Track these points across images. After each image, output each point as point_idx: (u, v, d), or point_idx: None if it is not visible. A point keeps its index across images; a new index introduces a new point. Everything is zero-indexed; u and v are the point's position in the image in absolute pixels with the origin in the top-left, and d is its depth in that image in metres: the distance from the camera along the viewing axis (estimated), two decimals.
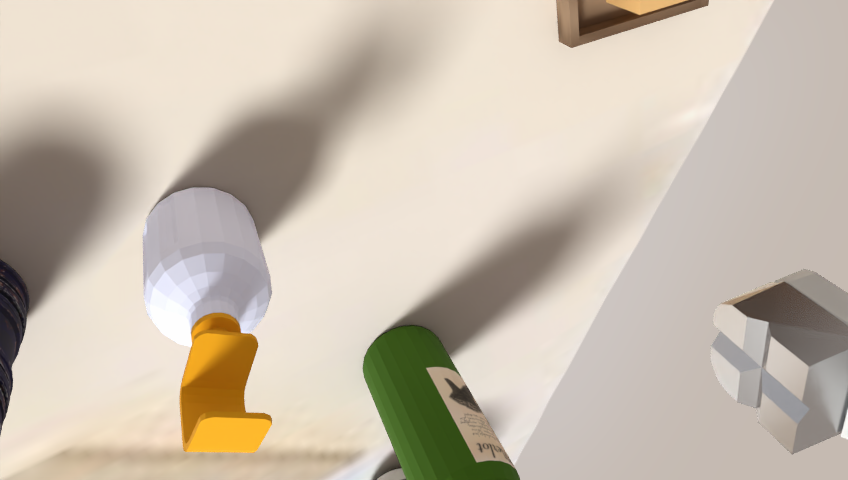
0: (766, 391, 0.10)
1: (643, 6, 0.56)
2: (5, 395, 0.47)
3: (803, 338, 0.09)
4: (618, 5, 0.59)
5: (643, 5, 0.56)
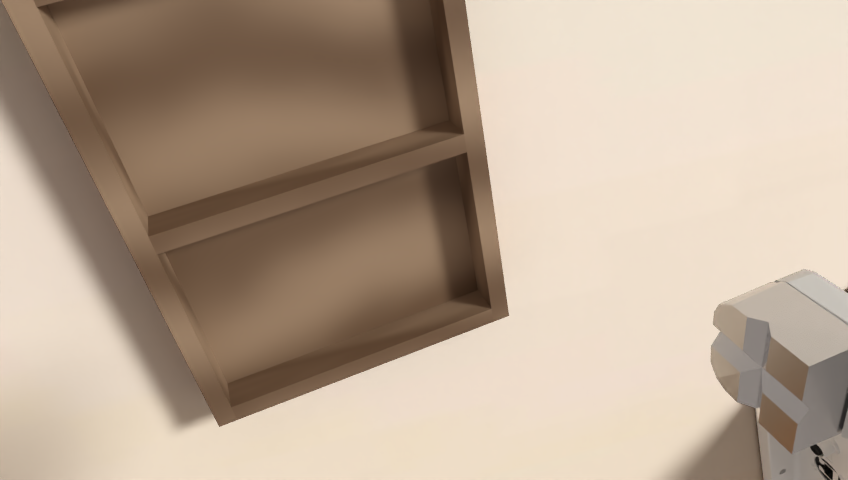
0: (766, 391, 0.10)
1: None
2: None
3: (803, 338, 0.09)
4: None
5: None
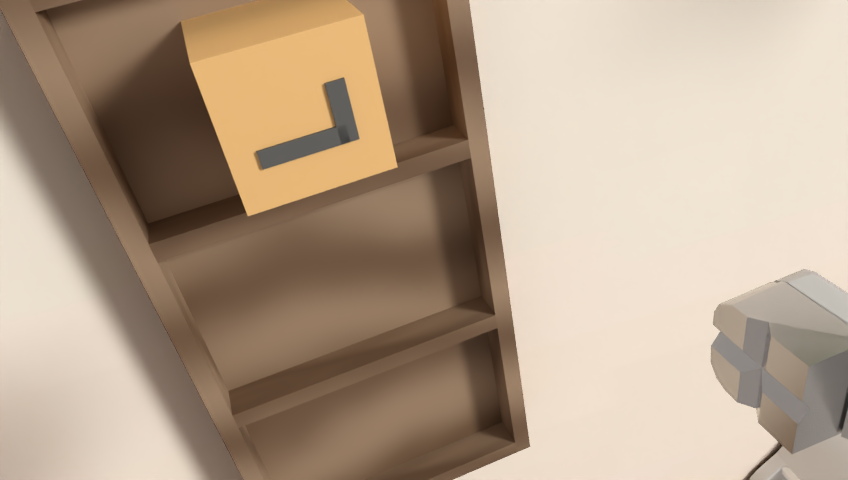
0: (766, 391, 0.10)
1: (356, 38, 0.20)
2: None
3: (803, 338, 0.09)
4: None
5: (356, 39, 0.20)
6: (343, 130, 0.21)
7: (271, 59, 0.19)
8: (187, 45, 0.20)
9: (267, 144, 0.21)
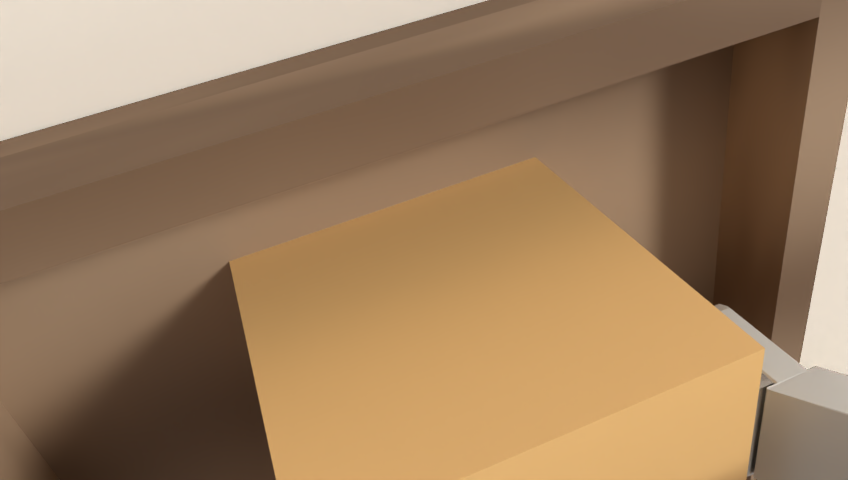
0: None
1: (730, 401, 0.07)
2: None
3: None
4: None
5: (731, 404, 0.07)
6: None
7: None
8: (265, 408, 0.08)
9: None
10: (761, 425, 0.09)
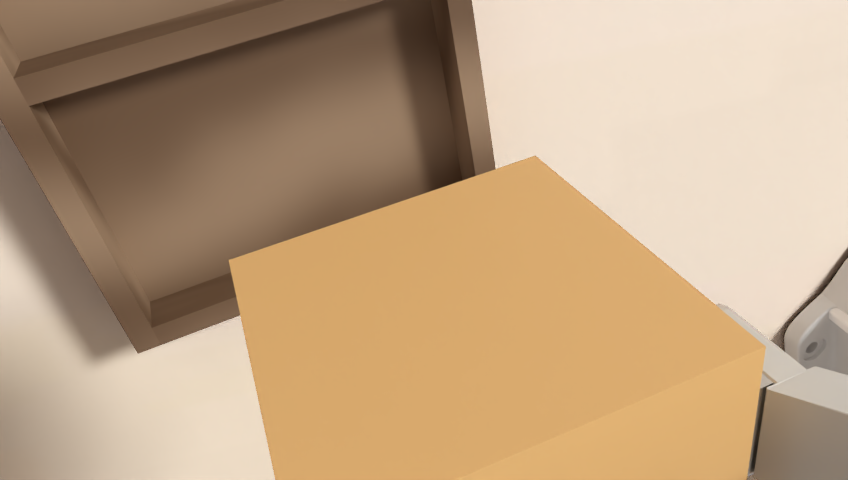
0: None
1: (730, 400, 0.07)
2: None
3: None
4: None
5: (731, 402, 0.07)
6: None
7: None
8: (264, 406, 0.08)
9: None
10: (761, 425, 0.09)
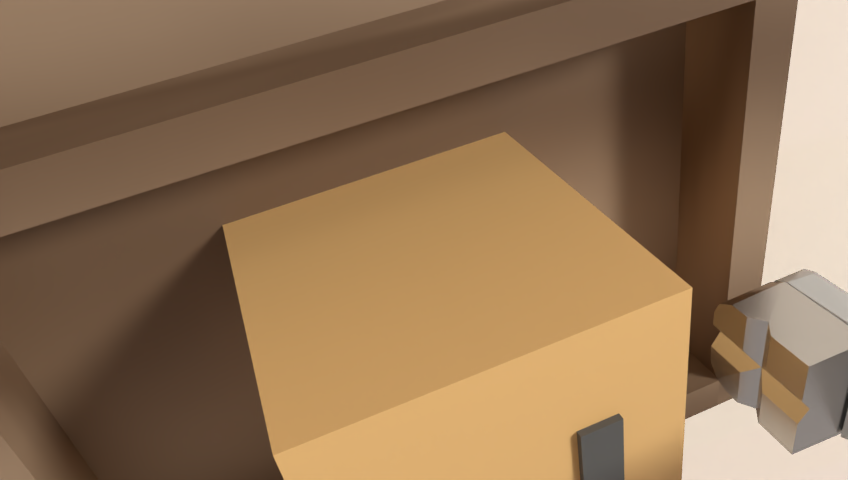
0: (766, 391, 0.10)
1: (663, 336, 0.08)
2: None
3: (803, 338, 0.09)
4: None
5: (665, 338, 0.08)
6: None
7: (471, 411, 0.08)
8: (252, 344, 0.08)
9: None
10: None
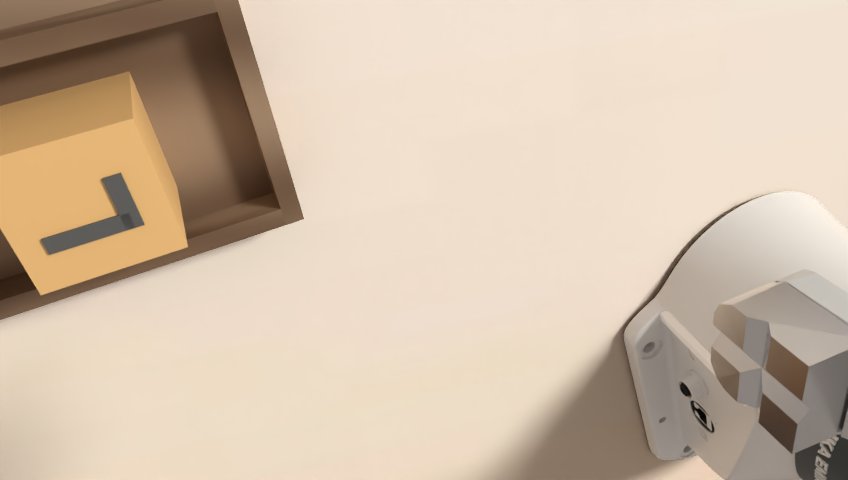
0: (766, 391, 0.10)
1: (128, 138, 0.22)
2: None
3: (803, 338, 0.09)
4: (131, 90, 0.24)
5: (129, 140, 0.22)
6: (128, 217, 0.23)
7: (45, 160, 0.21)
8: None
9: (51, 232, 0.22)
10: None
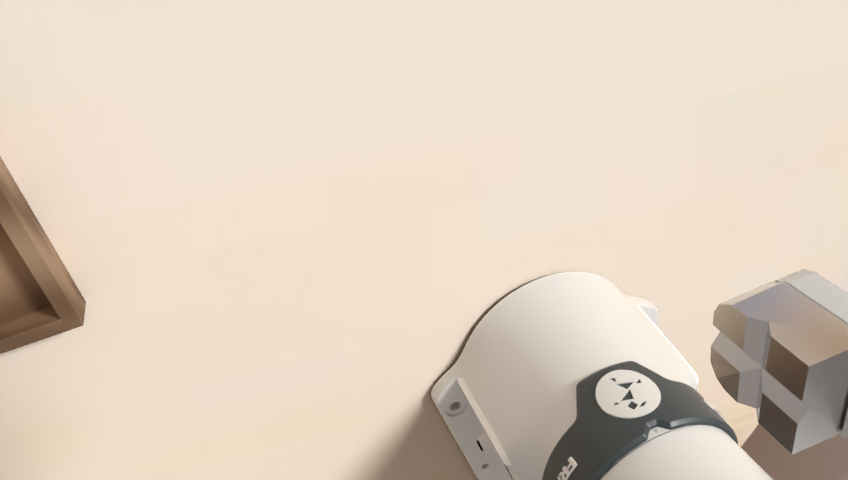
0: (766, 391, 0.10)
1: None
2: None
3: (803, 338, 0.09)
4: None
5: None
6: None
7: None
8: None
9: None
10: None
